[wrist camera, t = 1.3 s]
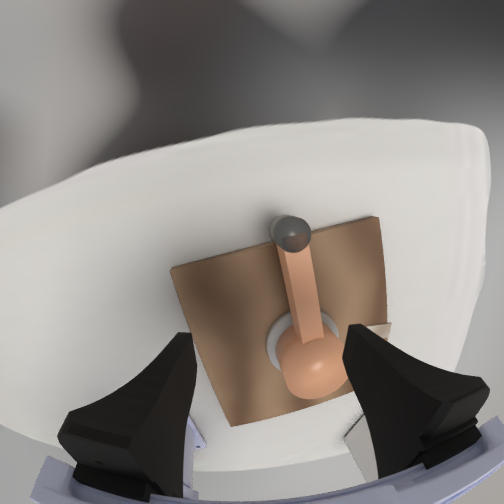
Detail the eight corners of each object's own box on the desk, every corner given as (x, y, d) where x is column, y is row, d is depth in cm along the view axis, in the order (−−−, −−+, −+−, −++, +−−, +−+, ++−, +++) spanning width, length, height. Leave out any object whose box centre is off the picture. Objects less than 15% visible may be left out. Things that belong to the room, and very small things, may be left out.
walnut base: (230, 419, 26) (231, 433, 24) (172, 267, 22) (167, 274, 20) (384, 370, 27) (393, 380, 25) (375, 215, 23) (388, 217, 21)
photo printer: (385, 384, 28) (439, 447, 15) (404, 389, 28) (455, 445, 16) (338, 439, 29) (371, 506, 17) (359, 441, 30) (393, 501, 17)
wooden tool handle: (336, 360, 23) (353, 385, 19) (281, 377, 22) (291, 406, 18) (312, 206, 20) (333, 208, 16) (243, 223, 19) (249, 229, 15)
